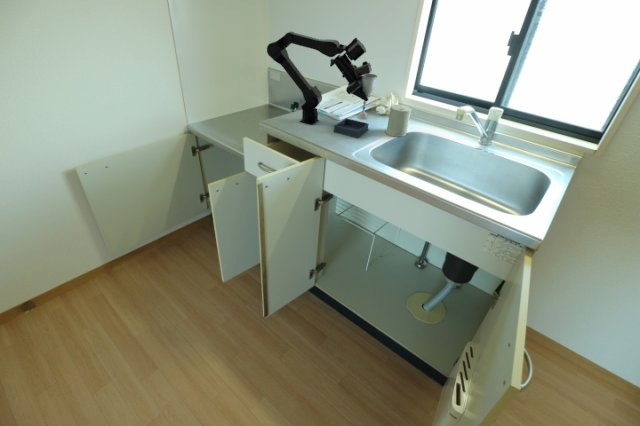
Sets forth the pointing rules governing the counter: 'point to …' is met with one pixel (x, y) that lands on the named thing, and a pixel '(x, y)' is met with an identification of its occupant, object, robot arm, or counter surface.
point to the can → (398, 120)
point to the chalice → (367, 91)
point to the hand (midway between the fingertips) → (368, 98)
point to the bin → (351, 127)
